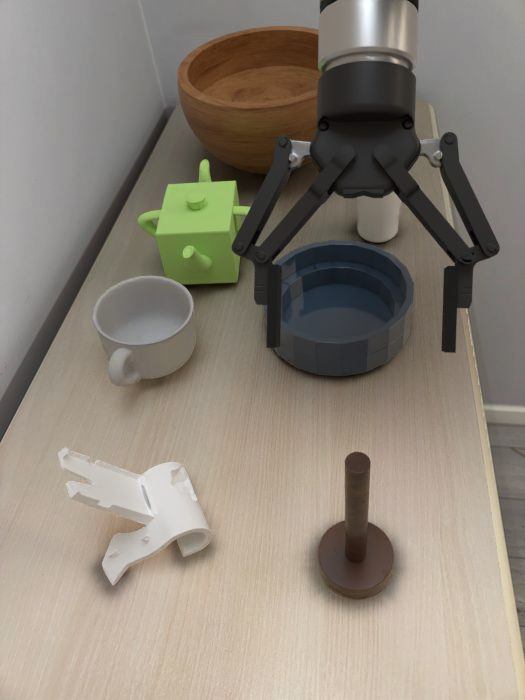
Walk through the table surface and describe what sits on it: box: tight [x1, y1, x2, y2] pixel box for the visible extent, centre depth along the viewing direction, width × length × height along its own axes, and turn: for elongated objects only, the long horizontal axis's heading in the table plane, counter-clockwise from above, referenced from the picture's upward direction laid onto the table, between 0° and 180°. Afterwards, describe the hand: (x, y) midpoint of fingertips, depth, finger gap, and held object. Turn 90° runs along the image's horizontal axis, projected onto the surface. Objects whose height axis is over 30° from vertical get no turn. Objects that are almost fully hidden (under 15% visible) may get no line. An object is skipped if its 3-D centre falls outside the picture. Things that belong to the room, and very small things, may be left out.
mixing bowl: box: [261, 239, 415, 377], centre depth 76 cm, size 17×17×6 cm
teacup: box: [91, 275, 197, 388], centre depth 74 cm, size 14×11×8 cm
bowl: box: [176, 25, 322, 175], centre depth 98 cm, size 25×25×15 cm
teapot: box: [137, 158, 251, 285], centre depth 84 cm, size 15×13×11 cm
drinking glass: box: [355, 192, 403, 244], centre depth 84 cm, size 7×7×15 cm
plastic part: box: [57, 446, 213, 587], centre depth 58 cm, size 8×10×12 cm
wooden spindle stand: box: [317, 451, 395, 600], centre depth 53 cm, size 6×6×16 cm
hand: (359, 350), depth 53 cm, fingers open, 13 cm apart
